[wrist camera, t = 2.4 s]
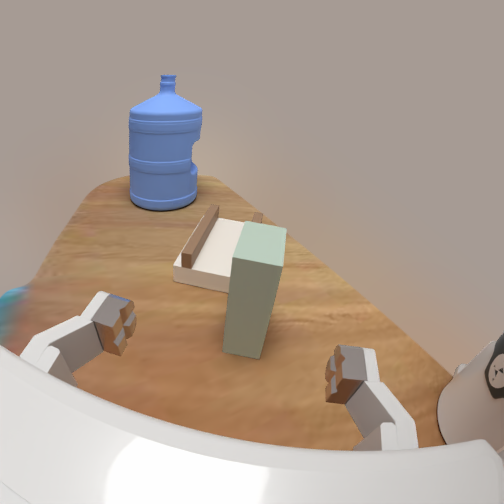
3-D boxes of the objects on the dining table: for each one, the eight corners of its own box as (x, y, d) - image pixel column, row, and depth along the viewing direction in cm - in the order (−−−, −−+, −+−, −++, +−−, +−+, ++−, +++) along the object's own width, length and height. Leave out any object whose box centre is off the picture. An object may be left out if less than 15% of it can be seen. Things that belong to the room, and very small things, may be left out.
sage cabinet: (266, 314, 40) (286, 225, 33) (259, 359, 34) (282, 266, 26) (234, 307, 41) (246, 217, 33) (222, 351, 34) (232, 256, 26)
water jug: (149, 219, 57) (152, 76, 42) (120, 193, 65) (119, 76, 50) (210, 201, 67) (222, 77, 52) (173, 179, 75) (180, 74, 60)
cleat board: (265, 240, 56) (270, 214, 53) (253, 298, 43) (258, 267, 40) (203, 229, 57) (204, 203, 54) (173, 281, 43) (172, 250, 40)
